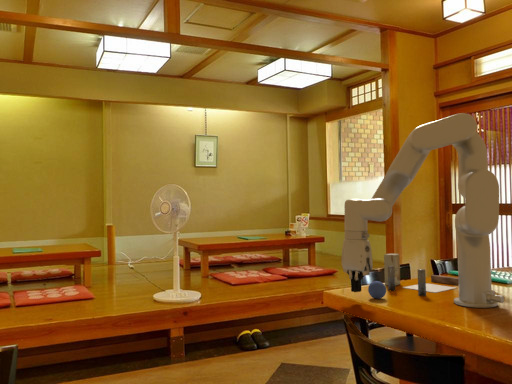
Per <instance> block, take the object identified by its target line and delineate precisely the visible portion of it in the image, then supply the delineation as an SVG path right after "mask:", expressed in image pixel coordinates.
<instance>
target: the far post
mask: <svg viewBox="0 0 512 384" xmlns="http://www.w3.org/2000/svg"><path fill="white" fill-rule="evenodd" d="M387 267H388V285H387V291H389V290H391V291H390V292H395V291H396V286H395V266H387ZM394 290H395V291H394Z"/></svg>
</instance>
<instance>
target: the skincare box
mask: <svg viewBox="0 0 512 384" xmlns="http://www.w3.org/2000/svg"><path fill="white" fill-rule="evenodd" d="M400 257H401V256H400V253H385V254H383V266H384V268H383V270H384V285H385V286H388V267H387V266H395V287H396V286H398V285H400V284H401V267H400V266H401V263H400V259H401V258H400Z"/></svg>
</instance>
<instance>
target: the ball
mask: <svg viewBox="0 0 512 384" xmlns="http://www.w3.org/2000/svg"><path fill="white" fill-rule="evenodd" d="M367 291H368V294H369V296H370V297H371V298H373V299H375V298H376V299H377V300H379V299H382V298H383V297H384V296H385V295H386V294H387V287H386V285H385V283H383V282H382V281H378V280H375V281H372V282H370V283H369V285H368V288H367ZM376 299H375V300H376Z"/></svg>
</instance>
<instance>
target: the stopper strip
mask: <svg viewBox="0 0 512 384" xmlns="http://www.w3.org/2000/svg"><path fill="white" fill-rule="evenodd" d="M430 278H431V279H430V281H431V283H439V284H447V285H455V286H459V280H458V277H453V276H445V275H436V274H434V275H433V274H431V275H430Z"/></svg>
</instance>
